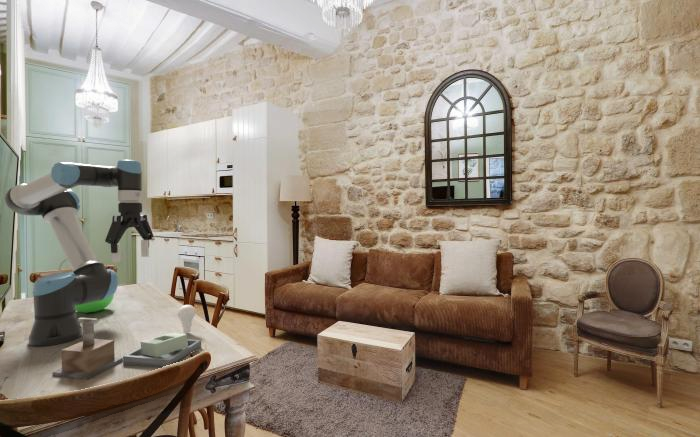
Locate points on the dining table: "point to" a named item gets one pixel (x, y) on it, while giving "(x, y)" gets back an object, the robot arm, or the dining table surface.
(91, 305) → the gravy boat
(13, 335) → the dining table surface
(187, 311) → the lightbulb
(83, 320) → the stake block
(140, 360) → the tray
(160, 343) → the collar
